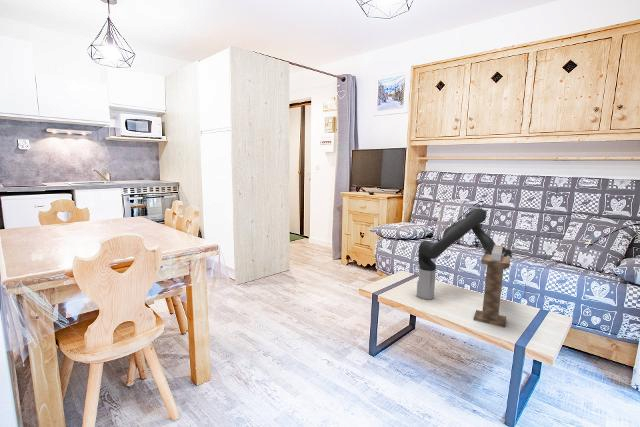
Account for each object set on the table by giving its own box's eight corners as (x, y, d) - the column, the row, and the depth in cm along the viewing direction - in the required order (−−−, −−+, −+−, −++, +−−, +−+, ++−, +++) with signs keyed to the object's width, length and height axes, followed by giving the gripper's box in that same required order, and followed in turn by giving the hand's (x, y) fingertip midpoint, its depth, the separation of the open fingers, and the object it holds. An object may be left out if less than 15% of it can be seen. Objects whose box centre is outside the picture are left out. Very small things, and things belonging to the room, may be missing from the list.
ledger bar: (490, 260, 158) (491, 253, 158) (493, 251, 175) (494, 245, 175) (500, 261, 156) (501, 254, 156) (502, 252, 173) (502, 246, 173)
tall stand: (473, 320, 164) (479, 259, 160) (476, 311, 175) (481, 253, 171) (505, 328, 157) (512, 264, 152) (506, 318, 168) (512, 257, 163)
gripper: (485, 248, 189) (483, 239, 175) (513, 252, 182) (514, 242, 168) (483, 261, 187) (482, 252, 173) (512, 265, 179) (513, 256, 166)
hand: (498, 247), depth 170 cm, fingers closed on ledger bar, 4 cm apart
